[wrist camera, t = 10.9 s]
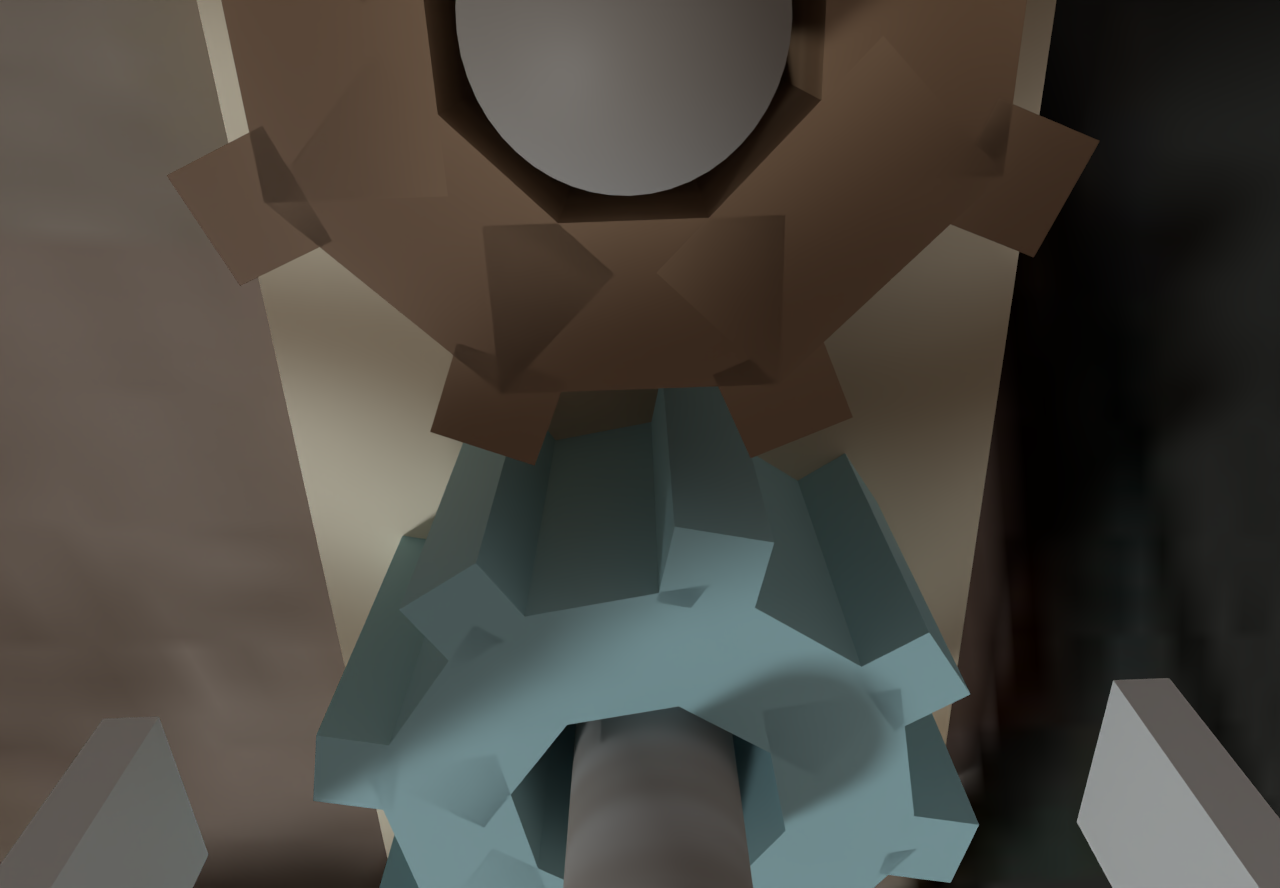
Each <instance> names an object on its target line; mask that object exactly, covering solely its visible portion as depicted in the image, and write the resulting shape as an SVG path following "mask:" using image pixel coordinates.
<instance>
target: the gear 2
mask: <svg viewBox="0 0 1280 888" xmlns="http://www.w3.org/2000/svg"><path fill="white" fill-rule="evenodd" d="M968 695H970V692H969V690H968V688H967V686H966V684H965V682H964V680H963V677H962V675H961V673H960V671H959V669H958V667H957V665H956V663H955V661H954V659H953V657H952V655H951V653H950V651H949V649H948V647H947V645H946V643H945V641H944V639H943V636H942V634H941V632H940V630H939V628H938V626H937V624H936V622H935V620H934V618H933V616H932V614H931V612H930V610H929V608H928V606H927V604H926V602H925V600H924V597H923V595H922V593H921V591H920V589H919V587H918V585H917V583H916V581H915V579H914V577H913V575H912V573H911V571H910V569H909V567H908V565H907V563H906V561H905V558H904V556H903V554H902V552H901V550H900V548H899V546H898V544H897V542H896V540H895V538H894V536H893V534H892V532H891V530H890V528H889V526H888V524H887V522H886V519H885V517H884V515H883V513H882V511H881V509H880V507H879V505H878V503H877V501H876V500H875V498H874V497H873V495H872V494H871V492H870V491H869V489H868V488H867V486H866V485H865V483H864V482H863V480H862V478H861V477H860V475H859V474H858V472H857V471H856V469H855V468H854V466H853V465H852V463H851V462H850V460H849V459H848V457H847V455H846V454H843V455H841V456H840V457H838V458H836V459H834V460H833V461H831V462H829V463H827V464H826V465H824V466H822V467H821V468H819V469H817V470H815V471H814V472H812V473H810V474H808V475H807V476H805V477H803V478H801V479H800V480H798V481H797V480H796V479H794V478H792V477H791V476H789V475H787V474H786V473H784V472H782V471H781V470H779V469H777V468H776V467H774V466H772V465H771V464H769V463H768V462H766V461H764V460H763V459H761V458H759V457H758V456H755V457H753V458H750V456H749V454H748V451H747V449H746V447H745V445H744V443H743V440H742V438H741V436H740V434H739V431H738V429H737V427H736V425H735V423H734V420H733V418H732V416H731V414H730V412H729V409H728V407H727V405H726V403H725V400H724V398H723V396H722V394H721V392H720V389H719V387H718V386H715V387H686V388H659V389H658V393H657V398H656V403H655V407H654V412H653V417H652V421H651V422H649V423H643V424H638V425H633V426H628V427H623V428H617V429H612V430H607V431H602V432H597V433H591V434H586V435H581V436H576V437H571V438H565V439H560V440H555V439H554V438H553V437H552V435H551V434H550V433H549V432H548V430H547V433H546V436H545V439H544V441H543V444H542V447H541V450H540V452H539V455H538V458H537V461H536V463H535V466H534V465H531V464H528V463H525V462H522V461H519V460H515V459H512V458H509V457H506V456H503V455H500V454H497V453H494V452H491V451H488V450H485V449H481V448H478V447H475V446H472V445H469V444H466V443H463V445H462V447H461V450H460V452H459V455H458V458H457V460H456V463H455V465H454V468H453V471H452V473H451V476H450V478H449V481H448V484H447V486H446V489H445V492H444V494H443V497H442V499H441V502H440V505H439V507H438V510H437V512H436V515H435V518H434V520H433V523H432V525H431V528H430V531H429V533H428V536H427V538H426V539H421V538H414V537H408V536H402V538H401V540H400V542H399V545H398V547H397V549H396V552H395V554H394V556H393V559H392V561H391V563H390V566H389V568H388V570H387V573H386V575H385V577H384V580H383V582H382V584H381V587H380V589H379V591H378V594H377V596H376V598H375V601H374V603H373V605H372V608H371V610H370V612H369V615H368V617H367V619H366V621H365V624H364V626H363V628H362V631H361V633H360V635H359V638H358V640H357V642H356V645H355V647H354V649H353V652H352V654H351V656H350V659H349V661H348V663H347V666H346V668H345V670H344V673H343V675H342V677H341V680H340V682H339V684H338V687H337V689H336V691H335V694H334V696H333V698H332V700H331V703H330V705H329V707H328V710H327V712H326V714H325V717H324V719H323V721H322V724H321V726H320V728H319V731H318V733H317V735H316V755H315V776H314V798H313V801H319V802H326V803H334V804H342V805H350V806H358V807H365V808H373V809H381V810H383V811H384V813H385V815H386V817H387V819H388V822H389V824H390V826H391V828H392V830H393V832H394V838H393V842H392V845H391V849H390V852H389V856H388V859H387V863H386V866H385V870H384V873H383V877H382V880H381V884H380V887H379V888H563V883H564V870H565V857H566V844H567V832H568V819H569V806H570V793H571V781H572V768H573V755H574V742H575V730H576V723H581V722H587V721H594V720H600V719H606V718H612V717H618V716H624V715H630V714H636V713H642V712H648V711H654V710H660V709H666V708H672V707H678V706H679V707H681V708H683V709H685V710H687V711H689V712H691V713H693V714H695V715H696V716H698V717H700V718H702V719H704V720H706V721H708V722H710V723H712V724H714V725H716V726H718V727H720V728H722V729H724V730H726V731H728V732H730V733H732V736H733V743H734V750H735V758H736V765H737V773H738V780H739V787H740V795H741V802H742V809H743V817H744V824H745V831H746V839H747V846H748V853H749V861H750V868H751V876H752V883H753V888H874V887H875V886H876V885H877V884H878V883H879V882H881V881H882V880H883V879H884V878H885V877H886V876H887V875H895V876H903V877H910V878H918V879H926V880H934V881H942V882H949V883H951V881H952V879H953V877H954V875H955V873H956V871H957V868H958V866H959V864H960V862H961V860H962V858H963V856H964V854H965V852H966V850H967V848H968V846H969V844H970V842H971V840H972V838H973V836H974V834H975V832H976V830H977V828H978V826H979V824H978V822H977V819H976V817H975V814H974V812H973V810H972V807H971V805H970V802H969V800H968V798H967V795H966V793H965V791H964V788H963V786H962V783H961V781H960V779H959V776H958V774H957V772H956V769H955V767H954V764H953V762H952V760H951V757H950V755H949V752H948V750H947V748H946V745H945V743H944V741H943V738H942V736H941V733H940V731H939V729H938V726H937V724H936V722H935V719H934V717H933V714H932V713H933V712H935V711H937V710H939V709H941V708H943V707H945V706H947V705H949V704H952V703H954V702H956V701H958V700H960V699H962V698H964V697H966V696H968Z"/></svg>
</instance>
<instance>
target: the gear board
mask: <svg viewBox="0 0 1280 888" xmlns="http://www.w3.org/2000/svg"><path fill="white" fill-rule="evenodd" d="M197 4H198V8H199V13H200V17H201V22H202V26H203V31H204V35H205V40H206V44H207V49H208V53H209V58H210V62H211V67H212V71H213V76H214V80H215V85H216V89H217V94H218V98H219V103H220V107H221V112H222V116H223V121H224V125H225V130H226V134H227V139H228V143H230V142H232V141H234V140H236V139H238V138H239V137H241V136H243V135H245V134H247V133H249V129H248V125H247V120H246V115H245V111H244V106H243V101H242V96H241V92H240V87H239V82H238V77H237V73H236V68H235V63H234V59H233V54H232V49H231V44H230V40H229V35H228V30H227V26H226V21H225V16H224V11H223V7H222V2H221V0H197ZM1055 6H1056V0H1027V4H1026V11H1025V19H1024V26H1023V33H1022V41H1021V48H1020V56H1019V63H1018V70H1017V78H1016V85H1015V92H1014V100H1013V104H1014V105H1017V106H1019V107H1021V108H1024V109H1026V110H1028V111H1031V112H1033V113H1035V114H1038V115H1039V114H1040V107H1041V101H1042V94H1043V87H1044V80H1045V74H1046V67H1047V60H1048V54H1049V47H1050V40H1051V33H1052V27H1053V20H1054V13H1055ZM455 10H456V29H457V36H458V42H459V48H460V54H461V58H462V61H463V64H464V68H465V71H466V75H467V78H468V80H469V82H470V85H471V87H472V89H473V92H474V94H475V96H476V99H477V101H478V102H479V104H480V106H481V107H482V109H483V111H484V113H485V114H486V116H487V118H488V119H489V121H490V122H491V123H492V125H493V126H494V127H495V129H496V130H497V131H498V133H499V134H500V135H501V137H502V138H503V139H504V140H505V141H506V142H507V143H508V144H509V145H510V146H511V147H512V148H513V149H514V150H515V151H516V152H517V153H518V154H519V155H520V156H522V157H523V158H524V159H525V160H527V161H528V162H529V163H530V164H532V165H533V166H534V167H536V168H537V169H539V170H541V171H542V172H544V173H545V174H547V175H549V176H550V177H552V178H554V179H557V180H559V181H561V182H563V183H565V184H568V185H570V186H573V187H576V188H579V189H583V190H586V191H589V192H594V193H600V194H606V195H622V196H633V195H643V194H652V193H656V192H660V191H664V190H668V189H672V188H674V187H677V186H680V185H682V184H685V183H687V182H690V181H692V180H694V179H696V178H697V177H699V176H701V175H703V174H705V173H707V172H708V171H710V170H711V169H713V168H714V167H715V166H717V165H718V164H719V163H721V162H722V161H724V160H725V159H726V158H727V157H728V156H729V155H730V154H732V153H733V152H734V151H735V150H736V149H737V148H738V147H739V146H740V145H741V144H742V143H743V142H744V140H745V139H746V138H747V137H748V136H749V134H750V133H751V132H752V131H753V130H754V128H755V127H756V126H757V124H758V122H759V121H760V119H761V118H762V116H763V115H764V113H765V112H766V110H767V108H768V106H769V104H770V102H771V100H772V98H773V96H774V94H775V92H776V90H777V88H778V85H779V82H780V79H781V76H782V73H783V70H784V67H785V64H786V59H787V54H788V50H789V45H790V38H791V27H792V0H456V5H455ZM1018 256H1019V251H1016V250H1014V249H1011V248H1009V247H1006V246H1004V245H1001V244H999V243H996V242H994V241H991V240H989V239H986V238H984V237H981V236H978V235H976V234H973V233H971V232H968V231H966V230H963V229H961V228H958V227H956V226H953V225H951V224H950V225H949V226H948V227H947V228H946V229H945V230H944V231H943V232H942V233H941V234H939V235H938V236H937V237H936V238H935V239H934V240H933V241H932V242H931V243H930V244H929V245H928V246H927V247H925V248H924V249H923V250H922V251H921V252H920V253H919V254H918V255H917V256H916V257H915V258H914V259H913V260H912V261H910V262H909V263H908V264H907V265H906V266H905V267H904V268H903V269H902V270H901V271H900V272H899V273H898V274H897V275H895V276H894V277H893V278H892V279H891V280H890V281H889V282H888V283H887V284H886V285H885V286H884V287H883V288H881V289H880V290H879V291H878V292H877V293H876V294H875V295H874V296H873V297H872V298H871V299H870V300H869V301H868V302H866V303H865V304H864V305H863V306H862V307H861V308H860V309H859V310H858V311H857V312H856V313H855V314H854V315H853V316H851V317H850V318H849V319H848V320H847V321H846V322H845V323H844V324H843V325H842V326H841V327H840V328H839V329H837V330H836V331H835V332H834V333H833V334H832V335H831V336H830V337H829V338H828V339H827V340H826V341H825V342H824V344H825V346H826V349H827V352H828V354H829V357H830V359H831V362H832V365H833V367H834V370H835V372H836V375H837V377H838V380H839V383H840V385H841V388H842V390H843V393H844V396H845V398H846V401H847V403H848V406H849V408H850V411H851V414H852V416H853V418H850V419H848V420H845V421H843V422H840V423H838V424H835V425H833V426H830V427H828V428H825V429H823V430H820V431H818V432H815V433H813V434H810V435H808V436H805V437H803V438H800V439H798V440H795V441H793V442H790V443H788V444H785V445H783V446H780V447H778V448H775V449H773V450H770V451H768V452H765V453H763V454H760V455H758V457H759V458H761V459H763V460H764V461H766V462H768V463H769V464H771V465H772V466H774V467H776V468H777V469H779V470H781V471H782V472H784V473H786V474H787V475H789V476H791V477H792V478H794V479H796V480H797V481H798V480H800V479H801V478H803V477H805V476H807V475H808V474H810V473H812V472H814V471H815V470H817V469H819V468H821V467H822V466H824V465H826V464H827V463H829V462H831V461H833V460H834V459H836V458H838V457H840V456H841V455H843V454H846V455H847V457H848V459H849V460H850V462H851V463H852V465H853V466H854V468H855V469H856V471H857V472H858V474H859V475H860V477H861V478H862V480H863V482H864V483H865V485H866V486H867V488H868V489H869V491H870V492H871V494H872V495H873V497H874V498H875V500H876V501H877V503H878V505H879V507H880V509H881V511H882V513H883V515H884V517H885V519H886V522H887V524H888V526H889V528H890V530H891V532H892V534H893V536H894V538H895V540H896V542H897V544H898V546H899V548H900V550H901V552H902V554H903V556H904V558H905V561H906V563H907V565H908V567H909V569H910V571H911V573H912V575H913V577H914V579H915V581H916V583H917V585H918V587H919V589H920V591H921V593H922V595H923V597H924V600H925V602H926V604H927V606H928V608H929V610H930V612H931V614H932V616H933V618H934V620H935V622H936V624H937V626H938V628H939V630H940V632H941V634H942V636H943V639H944V641H945V643H946V645H947V647H948V649H949V651H950V653H951V655H952V657H953V659H954V661H955V663H956V665H957V666H958V660H959V653H960V646H961V639H962V633H963V626H964V619H965V612H966V606H967V599H968V592H969V586H970V579H971V572H972V565H973V559H974V552H975V545H976V538H977V532H978V525H979V518H980V511H981V505H982V498H983V491H984V485H985V478H986V471H987V464H988V458H989V451H990V444H991V437H992V431H993V424H994V417H995V410H996V404H997V397H998V390H999V383H1000V377H1001V370H1002V363H1003V357H1004V350H1005V343H1006V336H1007V330H1008V323H1009V316H1010V309H1011V303H1012V296H1013V289H1014V282H1015V276H1016V269H1017V262H1018ZM258 278H259V283H260V287H261V292H262V296H263V301H264V305H265V310H266V314H267V319H268V323H269V328H270V332H271V337H272V341H273V346H274V350H275V355H276V359H277V364H278V368H279V373H280V377H281V382H282V386H283V391H284V395H285V400H286V404H287V409H288V413H289V418H290V422H291V427H292V431H293V436H294V440H295V445H296V449H297V454H298V458H299V463H300V467H301V472H302V476H303V481H304V485H305V490H306V494H307V499H308V503H309V508H310V512H311V517H312V521H313V526H314V530H315V535H316V539H317V544H318V548H319V553H320V557H321V562H322V566H323V571H324V575H325V580H326V584H327V589H328V593H329V598H330V602H331V607H332V611H333V616H334V620H335V625H336V629H337V634H338V638H339V643H340V647H341V652H342V656H343V661H344V665H345V668H346V666H347V663H348V661H349V659H350V656H351V654H352V652H353V649H354V647H355V645H356V642H357V640H358V638H359V635H360V633H361V631H362V628H363V626H364V624H365V621H366V619H367V617H368V615H369V612H370V610H371V608H372V605H373V603H374V601H375V598H376V596H377V594H378V591H379V589H380V587H381V584H382V582H383V580H384V577H385V575H386V573H387V570H388V568H389V566H390V563H391V561H392V559H393V556H394V554H395V552H396V549H397V547H398V545H399V542H400V540H401V538H402V536H408V537H414V538H421V539H426V538H427V536H428V533H429V531H430V528H431V525H432V523H433V520H434V518H435V515H436V512H437V510H438V507H439V505H440V502H441V499H442V497H443V494H444V492H445V489H446V486H447V484H448V481H449V478H450V476H451V473H452V471H453V468H454V465H455V463H456V460H457V458H458V455H459V452H460V450H461V447H462V445H463V442H460V441H457V440H454V439H450V438H447V437H444V436H441V435H438V434H435V433H432V432H430V431H431V427H432V424H433V421H434V418H435V414H436V411H437V408H438V404H439V401H440V398H441V394H442V391H443V388H444V384H445V381H446V378H447V375H448V371H449V368H450V365H451V361H452V358H453V355H452V354H451V353H450V352H449V351H448V350H446V349H445V348H444V347H443V346H441V345H440V344H439V343H438V342H436V341H435V340H434V339H433V338H431V337H430V336H429V335H428V334H426V333H425V332H424V331H423V330H422V329H420V328H419V327H418V326H417V325H415V324H414V323H413V322H412V321H410V320H409V319H408V318H407V317H405V316H404V315H403V314H402V313H400V312H399V311H398V310H397V309H396V308H394V307H393V306H392V305H391V304H389V303H388V302H387V301H386V300H384V299H383V298H382V297H381V296H379V295H378V294H377V293H376V292H375V291H373V290H372V289H371V288H370V287H368V286H367V285H366V284H365V283H363V282H362V281H361V280H360V279H358V278H357V277H356V276H355V275H353V274H352V273H351V272H350V271H349V270H347V269H346V268H345V267H344V266H342V265H341V264H340V263H339V262H337V261H336V260H335V259H334V258H332V257H331V256H330V255H329V254H327V253H326V252H325V251H324V250H323V249H321V248H320V247H319V248H317V249H315V250H313V251H311V252H309V253H307V254H305V255H302V256H300V257H298V258H296V259H294V260H292V261H290V262H288V263H286V264H284V265H282V266H280V267H278V268H276V269H274V270H272V271H270V272H268V273H266V274H263V275H261V276H259V277H258ZM658 389H659V388H658ZM658 389H629V390H600V391H571V392H561V395H560V397H559V400H558V403H557V406H556V408H555V411H554V414H553V417H552V419H551V422H550V425H549V428H548V432H549V433H550V434H551V435H552V437H553V438H554V439H555V440H560V439H565V438H571V437H576V436H581V435H586V434H591V433H597V432H602V431H607V430H612V429H617V428H623V427H628V426H633V425H638V424H643V423H649V422H651V421H652V417H653V412H654V407H655V403H656V398H657V393H658ZM951 707H952V704H949V705H947V706H945V707H943V708H941V709H939V710H937V711H935V712H933V713H932V714H933V717H934V719H935V722H936V724H937V726H938V729H939V731H940V733H941V736H942V738H943V741H944V743H945V745H946V740H947V734H948V727H949V720H950V713H951ZM377 814H378V818H379V823H380V827H381V832H382V836H383V841H384V845H385V850H386V854H387V859H388V856H389V852H390V849H391V845H392V842H393V838H394V832H393V830H392V828H391V826H390V824H389V822H388V819H387V817H386V815H385V813H384V811H383V810H381V809H377ZM563 888H753V883H752V876H751V868H750V861H749V853H748V846H747V839H746V831H745V824H744V817H743V809H742V802H741V795H740V787H739V780H738V773H737V765H736V758H735V750H734V743H733V736H732V733H730V732H728V731H726V730H724V729H722V728H720V727H718V726H716V725H714V724H712V723H710V722H708V721H706V720H704V719H702V718H700V717H698V716H696V715H695V714H693V713H691V712H689V711H687V710H685V709H683V708H681V707H679V706H678V707H672V708H666V709H660V710H654V711H648V712H642V713H636V714H630V715H624V716H618V717H612V718H606V719H600V720H594V721H587V722H581V723H576V730H575V742H574V755H573V768H572V781H571V793H570V806H569V819H568V832H567V844H566V857H565V870H564V883H563Z"/></svg>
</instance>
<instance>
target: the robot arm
mask: <svg viewBox="0 0 1280 888" xmlns="http://www.w3.org/2000/svg"><path fill="white" fill-rule="evenodd" d="M1077 823H1078V825H1079V827H1080V828H1081V830H1082V832H1083V834H1084V836H1085V838H1086V840H1087V841H1088V843H1089V845H1090V847H1091V849H1092V851H1093V852H1094V854H1095V856H1096V858H1097V860H1098V862H1099V864H1100V865H1101V867H1102V869H1103V871H1104V873H1105V875H1106V876H1107V878H1108V880H1109V882H1110V884H1111V886H1112V888H1280V819H1279V817H1278V816H1277V815H1276V814H1275V812H1274V811H1273V810H1272V808H1271V807H1270V806H1269V805H1268V803H1267V802H1266V801H1265V800H1264V798H1263V797H1262V796H1261V794H1260V793H1259V792H1258V791H1257V789H1256V788H1255V787H1254V786H1253V784H1252V783H1251V782H1250V780H1249V779H1248V778H1247V777H1246V775H1245V774H1244V773H1243V772H1242V770H1241V769H1240V768H1239V766H1238V765H1237V764H1236V763H1235V761H1234V760H1233V759H1232V758H1231V756H1230V755H1229V754H1228V752H1227V751H1226V750H1225V749H1224V747H1223V746H1222V745H1221V744H1220V742H1219V741H1218V740H1217V738H1216V737H1215V736H1214V735H1213V733H1212V732H1211V731H1210V730H1209V728H1208V727H1207V726H1206V724H1205V723H1204V722H1203V721H1202V719H1201V718H1200V717H1199V716H1198V714H1197V713H1196V712H1195V710H1194V709H1193V708H1192V707H1191V705H1190V704H1189V703H1188V702H1187V700H1186V699H1185V698H1184V696H1183V695H1182V694H1181V693H1180V691H1179V690H1178V689H1177V688H1176V686H1175V685H1174V684H1173V682H1172V681H1171V680H1170V679H1169V678H1161V679H1134V680H1113V684H1112V688H1111V692H1110V695H1109V699H1108V703H1107V707H1106V711H1105V715H1104V719H1103V722H1102V726H1101V730H1100V734H1099V738H1098V742H1097V746H1096V750H1095V753H1094V757H1093V761H1092V765H1091V769H1090V773H1089V777H1088V781H1087V784H1086V788H1085V792H1084V796H1083V800H1082V804H1081V808H1080V812H1079V815H1078V819H1077ZM207 857H208V852H207V849H206V846H205V844H204V841H203V838H202V835H201V832H200V830H199V827H198V824H197V821H196V819H195V816H194V813H193V810H192V807H191V805H190V802H189V799H188V796H187V794H186V791H185V788H184V785H183V782H182V780H181V777H180V774H179V771H178V769H177V766H176V763H175V760H174V757H173V755H172V752H171V749H170V746H169V743H168V741H167V738H166V735H165V732H164V730H163V727H162V724H161V721H160V718H159V717H136V718H110V719H103V720H102V721H101V722H100V724H99V725H98V727H97V728H96V730H95V731H94V732H93V734H92V735H91V737H90V738H89V739H88V741H87V742H86V744H85V745H84V747H83V748H82V749H81V751H80V752H79V754H78V755H77V756H76V758H75V759H74V761H73V762H72V764H71V765H70V766H69V768H68V769H67V771H66V772H65V773H64V775H63V776H62V778H61V779H60V781H59V782H58V783H57V785H56V786H55V788H54V789H53V790H52V792H51V793H50V795H49V796H48V798H47V799H46V800H45V802H44V803H43V805H42V806H41V807H40V809H39V810H38V812H37V813H36V815H35V816H34V817H33V819H32V820H31V822H30V823H29V824H28V826H27V827H26V829H25V830H24V832H23V833H22V834H21V836H20V837H19V839H18V840H17V841H16V843H15V844H14V846H13V847H12V849H11V850H10V851H9V853H8V854H7V856H6V857H5V858H4V860H3V861H2V863H1V864H0V888H193V886H194V884H195V882H196V880H197V878H198V876H199V874H200V872H201V870H202V867H203V865H204V863H205V861H206V859H207Z"/></svg>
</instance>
